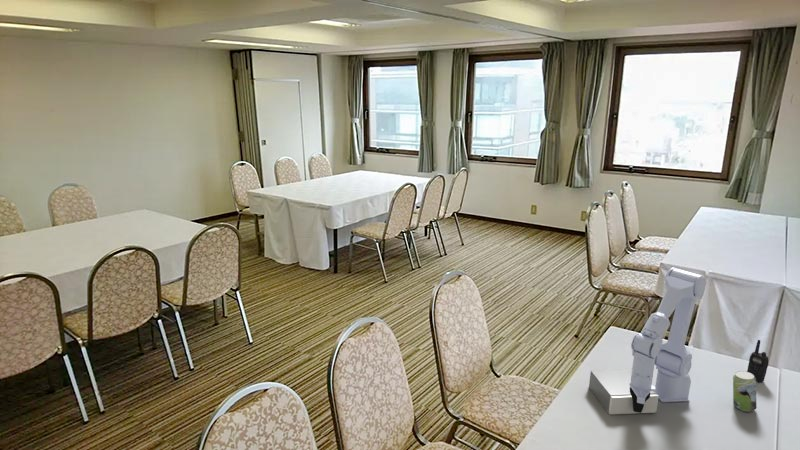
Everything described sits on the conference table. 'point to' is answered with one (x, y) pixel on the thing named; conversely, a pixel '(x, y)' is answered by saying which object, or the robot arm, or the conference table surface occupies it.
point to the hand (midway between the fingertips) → (637, 410)
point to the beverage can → (744, 391)
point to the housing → (610, 384)
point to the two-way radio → (758, 364)
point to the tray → (631, 404)
